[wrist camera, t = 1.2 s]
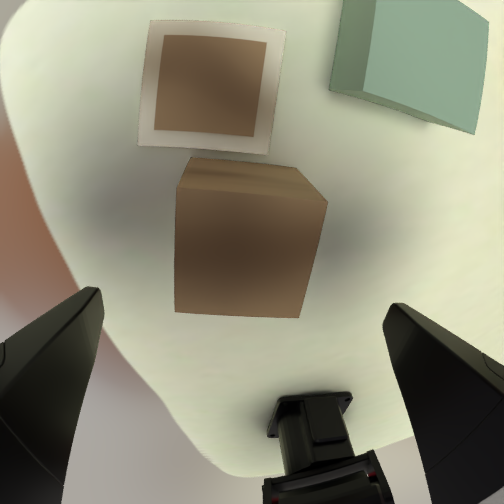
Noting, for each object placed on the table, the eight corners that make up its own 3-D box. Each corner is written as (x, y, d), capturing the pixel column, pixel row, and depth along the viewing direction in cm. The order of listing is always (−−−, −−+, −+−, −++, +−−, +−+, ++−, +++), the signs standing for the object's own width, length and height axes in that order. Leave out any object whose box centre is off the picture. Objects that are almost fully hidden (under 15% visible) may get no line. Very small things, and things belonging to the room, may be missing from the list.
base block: (426, 121, 14) (474, 135, 10) (327, 90, 13) (362, 91, 10) (441, 27, 11) (488, 21, 8) (344, -15, 10) (380, -41, 7)
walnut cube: (279, 257, 17) (298, 317, 13) (185, 251, 16) (174, 312, 12) (295, 167, 15) (328, 202, 10) (191, 157, 14) (176, 187, 10)
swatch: (267, 154, 14) (268, 156, 14) (139, 144, 13) (135, 147, 13) (285, 32, 11) (287, 29, 11) (151, 22, 11) (149, 19, 10)
